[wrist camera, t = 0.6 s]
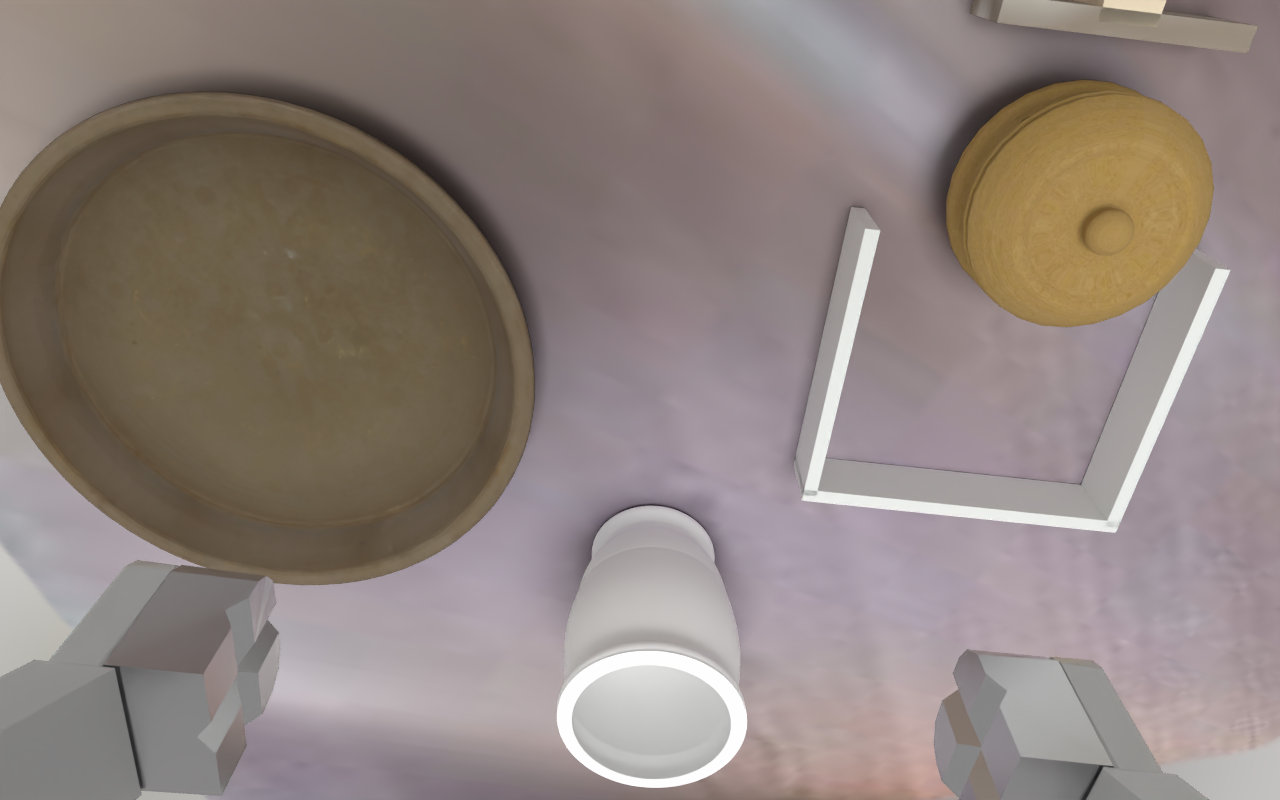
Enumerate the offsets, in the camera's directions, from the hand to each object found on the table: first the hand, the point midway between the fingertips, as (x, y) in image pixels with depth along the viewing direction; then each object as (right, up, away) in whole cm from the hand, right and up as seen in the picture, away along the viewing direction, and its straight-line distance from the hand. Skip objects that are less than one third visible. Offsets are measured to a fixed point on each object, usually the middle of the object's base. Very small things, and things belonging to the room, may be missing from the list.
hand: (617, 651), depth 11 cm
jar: (+1, -7, +52) cm, 53 cm away
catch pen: (+21, +5, +45) cm, 50 cm away
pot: (+22, +15, +40) cm, 48 cm away
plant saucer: (-21, +7, +46) cm, 51 cm away
